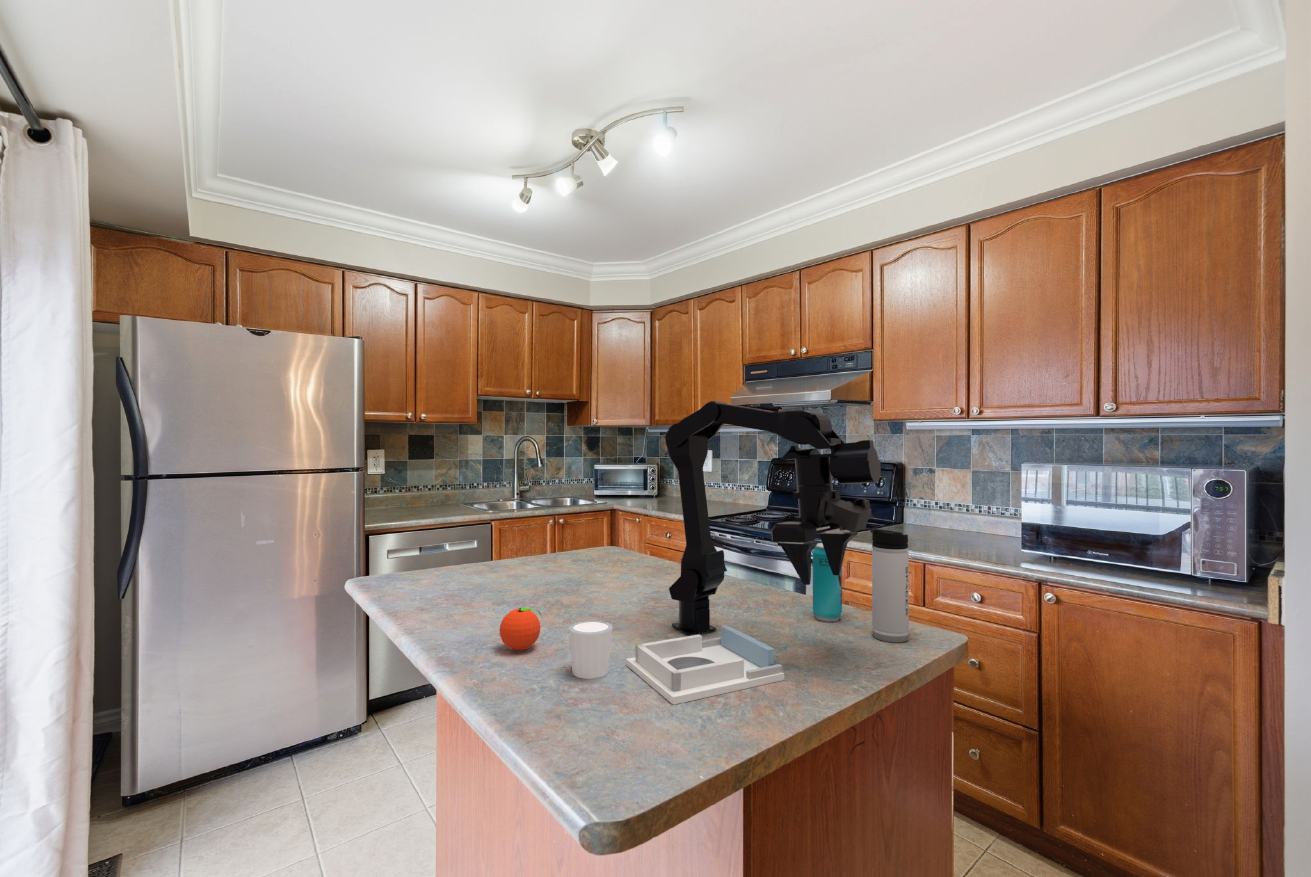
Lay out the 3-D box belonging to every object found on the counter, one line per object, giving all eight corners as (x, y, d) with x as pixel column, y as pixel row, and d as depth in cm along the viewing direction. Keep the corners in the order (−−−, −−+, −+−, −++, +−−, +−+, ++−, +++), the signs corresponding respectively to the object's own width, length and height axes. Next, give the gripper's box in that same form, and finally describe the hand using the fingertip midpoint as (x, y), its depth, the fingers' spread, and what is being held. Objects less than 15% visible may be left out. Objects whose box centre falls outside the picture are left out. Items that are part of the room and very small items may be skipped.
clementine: (531, 638, 106) (531, 599, 106) (553, 647, 101) (553, 606, 101) (491, 649, 101) (492, 607, 101) (512, 659, 96) (513, 616, 96)
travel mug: (864, 632, 110) (864, 526, 110) (898, 631, 110) (897, 526, 111) (880, 643, 104) (879, 531, 104) (915, 642, 104) (915, 530, 105)
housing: (625, 664, 93) (626, 643, 93) (725, 646, 102) (725, 626, 102) (673, 704, 79) (673, 678, 79) (784, 679, 87) (784, 656, 87)
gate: (721, 644, 100) (721, 626, 100) (726, 643, 100) (726, 625, 100) (768, 671, 88) (768, 650, 88) (774, 669, 88) (774, 648, 89)
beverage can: (843, 623, 115) (843, 547, 116) (813, 621, 116) (813, 546, 117) (840, 615, 121) (840, 543, 121) (811, 613, 122) (811, 542, 122)
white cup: (619, 666, 93) (619, 622, 93) (601, 682, 86) (601, 635, 86) (580, 661, 95) (580, 618, 95) (560, 676, 88) (560, 630, 89)
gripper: (828, 487, 85) (837, 595, 84) (886, 480, 98) (895, 574, 97) (766, 489, 93) (773, 588, 92) (827, 482, 106) (834, 569, 105)
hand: (822, 579), depth 96 cm, fingers open, 9 cm apart
